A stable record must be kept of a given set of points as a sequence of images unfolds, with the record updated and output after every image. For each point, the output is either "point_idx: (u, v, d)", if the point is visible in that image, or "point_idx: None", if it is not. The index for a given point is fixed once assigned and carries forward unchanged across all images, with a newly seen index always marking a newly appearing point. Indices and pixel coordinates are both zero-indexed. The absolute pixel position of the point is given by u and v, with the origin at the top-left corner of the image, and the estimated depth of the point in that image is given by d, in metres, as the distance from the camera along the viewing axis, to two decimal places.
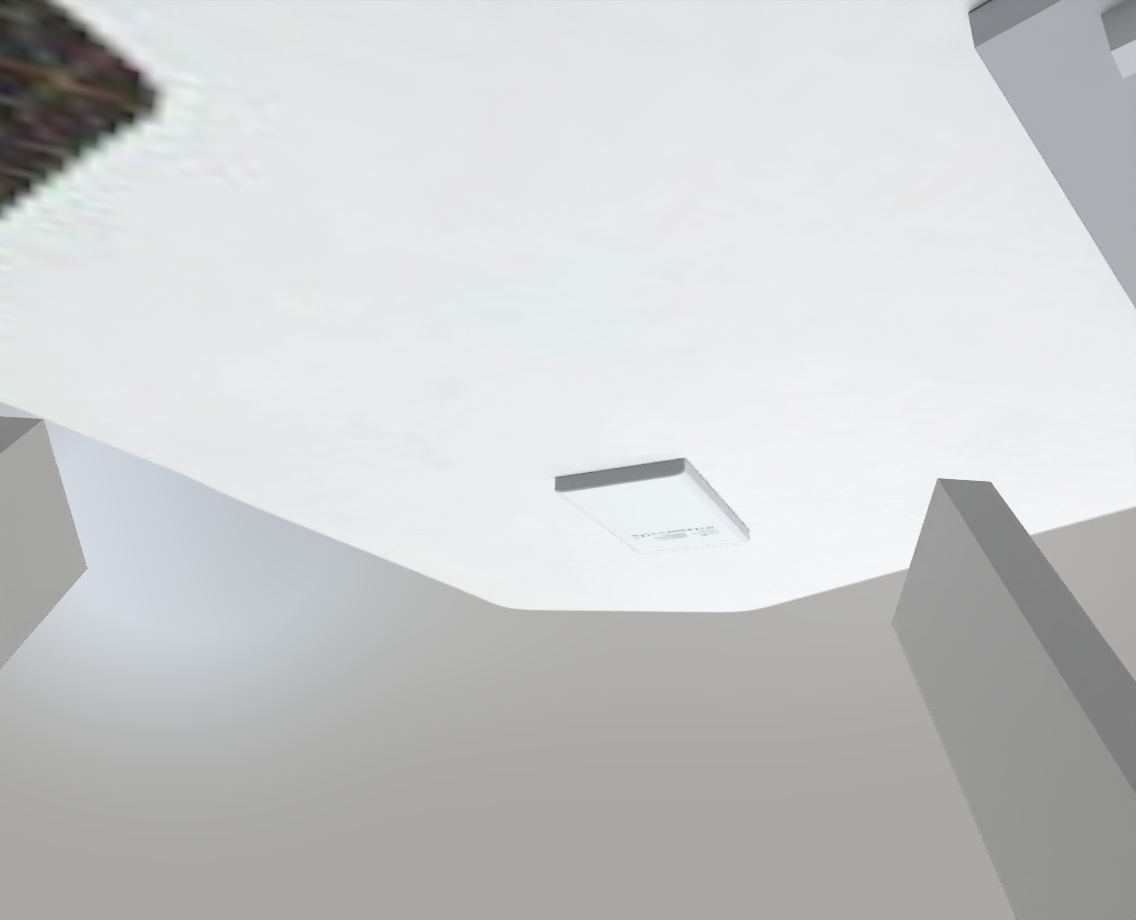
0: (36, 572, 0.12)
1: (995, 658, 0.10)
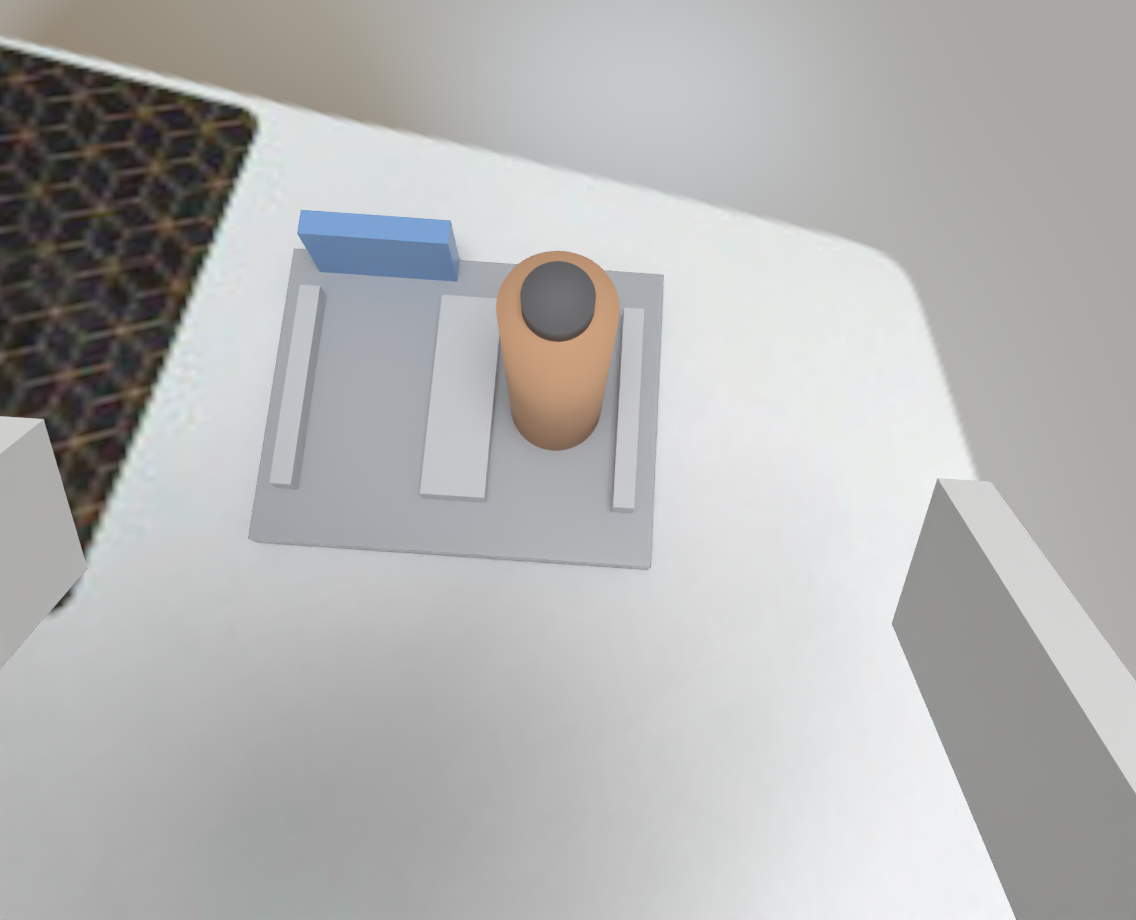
0: (36, 572, 0.12)
1: (995, 658, 0.10)
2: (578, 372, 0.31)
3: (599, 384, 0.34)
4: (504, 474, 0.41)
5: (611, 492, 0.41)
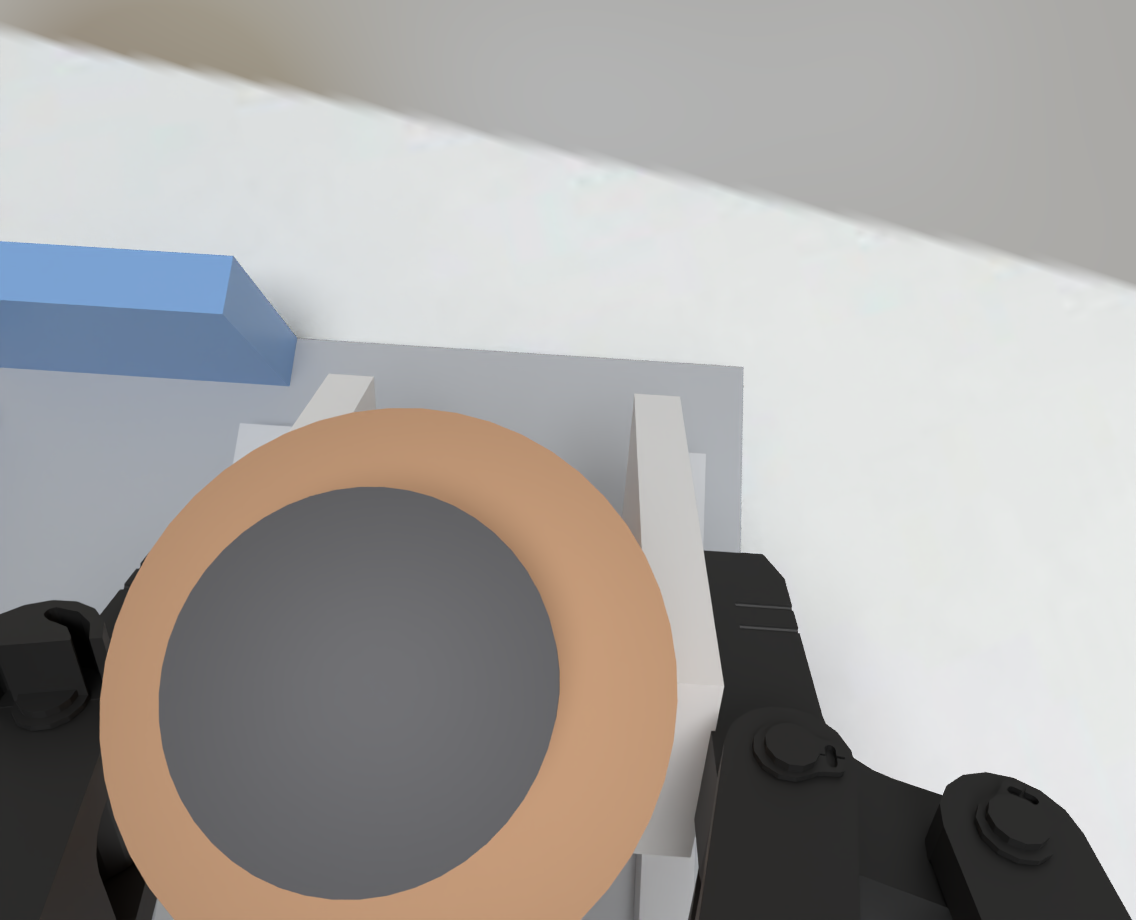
0: None
1: (633, 531, 0.12)
2: None
3: None
4: None
5: (632, 904, 0.17)
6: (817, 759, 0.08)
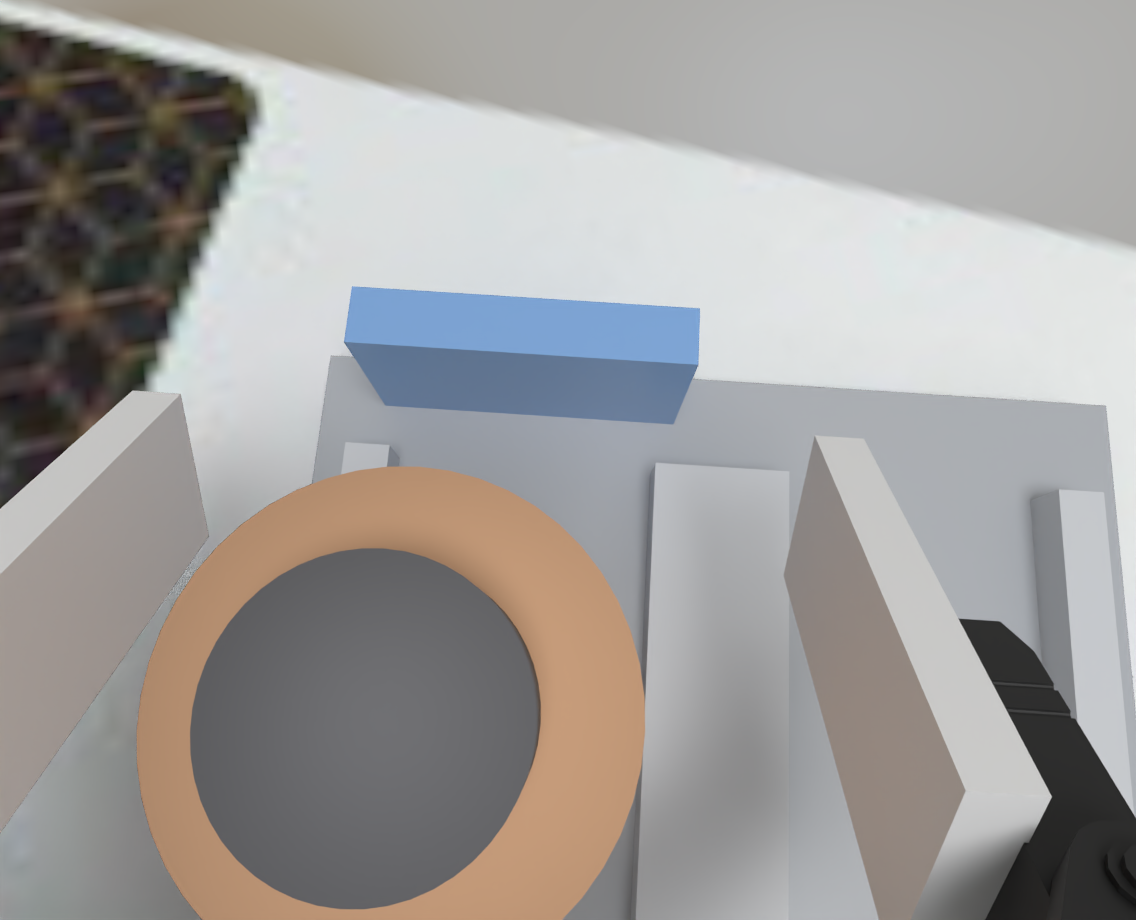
0: (173, 536, 0.13)
1: (845, 592, 0.11)
2: None
3: None
4: (810, 878, 0.18)
5: None
6: None
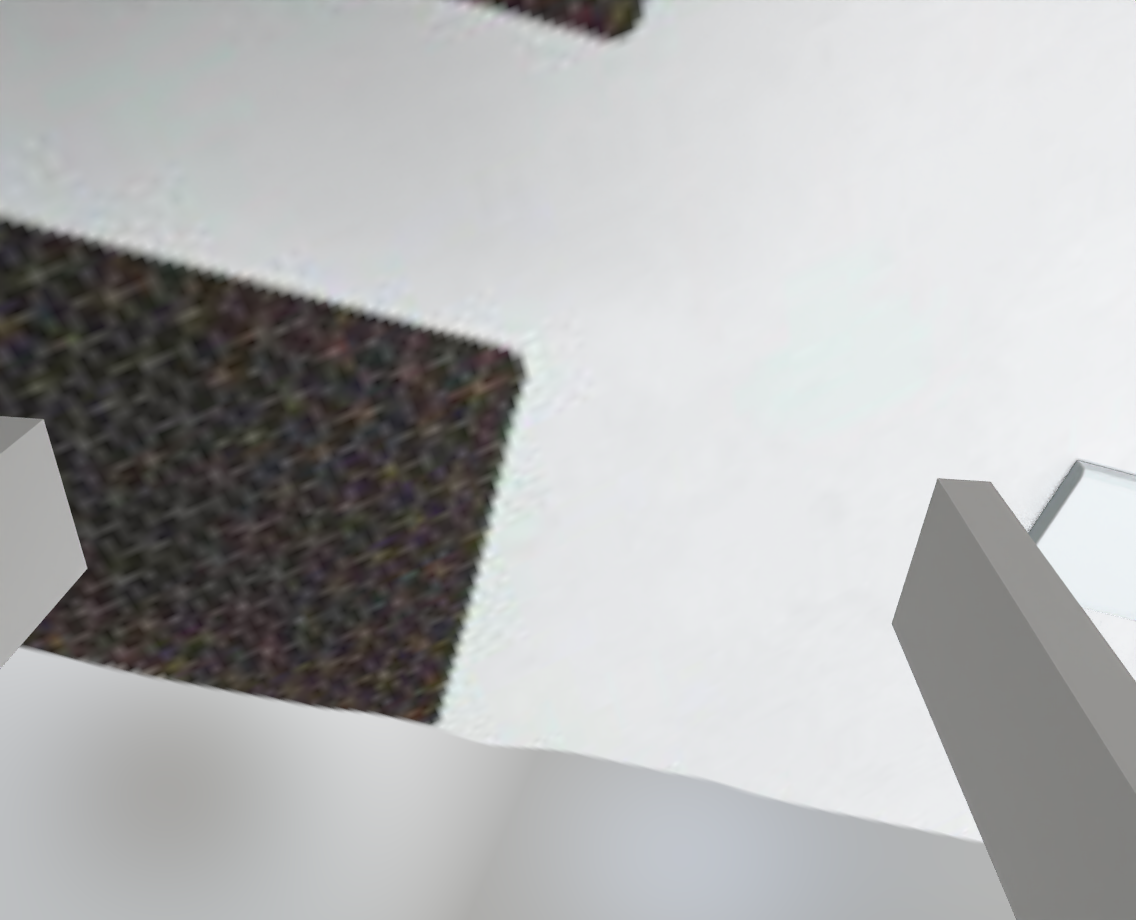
0: (36, 572, 0.12)
1: (996, 658, 0.10)
2: None
3: None
4: None
5: None
6: None
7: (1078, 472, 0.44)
